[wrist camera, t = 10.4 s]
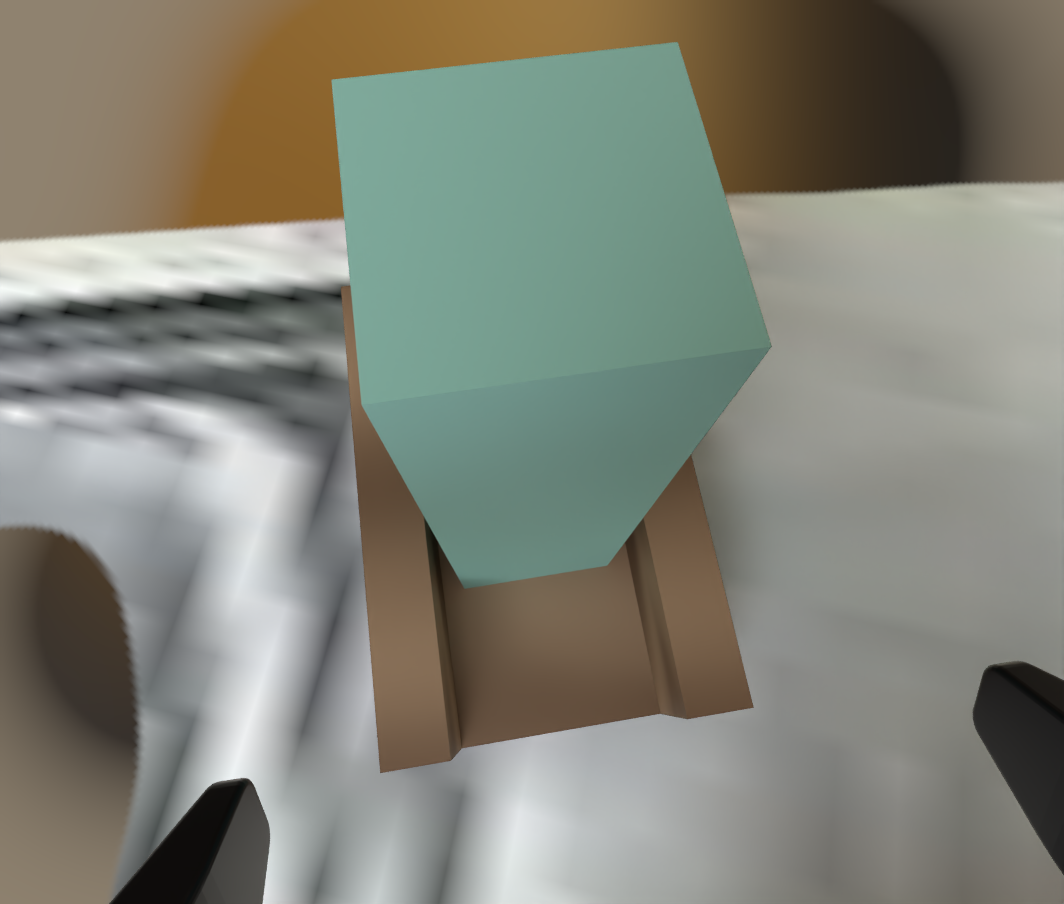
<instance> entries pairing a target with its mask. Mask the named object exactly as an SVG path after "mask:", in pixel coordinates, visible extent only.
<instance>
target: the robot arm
mask: <svg viewBox="0 0 1064 904" xmlns="http://www.w3.org/2000/svg"><path fill="white" fill-rule="evenodd" d="M973 721H974V725H975V728H976V730H977V732H978V734H979V736H980V738H981V740H982V741H983V743H984V745H985V746H986V748H987V750H988V752H989V753H990V755H991V757H992V758H993V760H994V762H995V763H996V765H997V767H998V769H999V770H1000V772H1001V774H1002V775H1003V777H1004V779H1005V780H1006V782H1007V784H1008V786H1009V787H1010V789H1011V791H1012V792H1013V794H1014V796H1015V798H1016V799H1017V801H1018V803H1019V804H1020V806H1021V808H1022V809H1023V811H1024V813H1025V815H1026V816H1027V818H1028V820H1029V821H1030V823H1031V825H1032V826H1033V828H1034V830H1035V832H1036V833H1037V835H1038V837H1039V838H1040V840H1041V841H1042V843H1043V845H1044V846H1045V848H1046V849H1047V851H1048V853H1049V854H1050V856H1051V857H1052V859H1053V860H1054V862H1055V863H1056V865H1057V866H1058V868H1059V869H1060V870H1061V872H1062V873H1063V875H1064V680H1062V679H1060V678H1058V677H1056V676H1054V675H1052V674H1050V673H1047V672H1045V671H1043V670H1041V669H1039V668H1037V667H1035V666H1033V665H1031V664H1028V663H1026V662H1022V661H1013V662H1006V663H999V664H993V665H990V666H988V667H987V668H986V669H985V670H984V673H983V675H982V679H981V682H980V686H979V690H978V693H977V697H976V701H975V704H974V708H973ZM269 845H270V829H269V824H268V820H267V818H266V815H265V812H264V810H263V807H262V805H261V802H260V800H259V797H258V795H257V792H256V789H255V787H254V785H253V783H252V782H251V781H250V780H249V779H247V778H240V779H233V780H227V781H220V782H216V783H214V784H212V785H211V786H210V787H208V788H207V789H206V790H205V792H204V793H203V794H202V795H201V796H200V797H199V799H198V800H197V801H196V802H195V803H194V804H193V806H192V807H191V808H190V809H189V810H188V812H187V813H186V814H185V815H184V816H183V817H182V819H181V820H180V821H179V822H178V823H177V824H176V826H175V827H174V828H173V829H172V830H171V832H170V833H169V834H168V835H167V836H166V837H165V839H164V840H163V841H162V842H161V843H160V845H159V846H158V847H157V848H156V849H155V850H154V852H153V853H152V854H151V855H150V856H149V857H148V859H147V860H146V861H145V862H144V863H143V865H142V866H141V867H140V868H139V869H138V870H137V872H136V873H135V874H134V875H133V876H132V877H131V879H130V880H129V881H128V882H127V883H126V885H125V886H124V887H123V888H122V889H121V890H120V892H119V893H118V894H117V895H116V896H115V898H114V899H113V900H112V901H111V902H110V903H109V904H262V903H263V895H264V886H265V878H266V870H267V862H268V854H269Z"/></svg>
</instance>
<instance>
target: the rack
mask: <svg viewBox="0 0 1064 904" xmlns="http://www.w3.org/2000/svg"><path fill="white" fill-rule="evenodd" d="M341 293H342V305H343V317H344V330H345V342H346V354H347V367H348V379H349V391H350V404H351V416H352V428H353V441H354V453H355V465H356V478H357V490H358V502H359V515H360V527H361V539H362V552H363V564H364V577H365V589H366V601H367V614H368V626H369V638H370V651H371V663H372V675H373V688H374V700H375V712H376V725H377V737H378V749H379V762H380V773H383V772H389V771H395V770H400V769H406V768H412V767H418V766H423V765H429V764H435V763H440V762H446V761H451V760H452V759H453V758H454V757H455V755H456V754H457V753H458V752H459V751H460V750H461V749H462V748H466V747H472V746H477V745H483V744H489V743H495V742H500V741H506V740H512V739H518V738H523V737H529V736H535V735H541V734H546V733H552V732H558V731H563V730H569V729H575V728H581V727H586V726H592V725H598V724H604V723H609V722H615V721H621V720H627V719H632V718H638V717H644V716H649V715H655V714H665V715H670V716H674V717H679V718H684V719H691V718H697V717H702V716H708V715H714V714H720V713H725V712H731V711H737V710H742V709H748V708H754V707H753V703H752V699H751V695H750V691H749V687H748V683H747V679H746V675H745V671H744V667H743V663H742V659H741V655H740V651H739V647H738V643H737V639H736V635H735V631H734V627H733V622H732V618H731V614H730V610H729V606H728V602H727V598H726V594H725V590H724V586H723V582H722V578H721V574H720V570H719V566H718V562H717V558H716V554H715V550H714V546H713V542H712V538H711V534H710V529H709V525H708V521H707V517H706V513H705V509H704V505H703V501H702V497H701V493H700V489H699V485H698V481H697V477H696V473H695V469H694V465H693V461H692V457H691V455H690V456H689V457H688V459H687V460H686V461H685V463H684V464H683V465H682V467H681V468H680V469H679V471H678V472H677V473H676V475H675V476H674V477H673V479H672V480H671V481H670V483H669V484H668V485H667V487H666V488H665V489H664V491H663V492H662V493H661V495H660V496H659V497H658V499H657V500H656V501H655V503H654V504H653V505H652V507H651V508H650V509H649V511H648V512H647V513H646V515H645V516H644V517H643V519H642V520H641V521H640V523H639V524H638V525H637V527H636V528H635V529H634V531H633V532H632V533H631V535H630V536H629V537H628V539H627V540H626V541H625V543H624V544H623V545H622V547H621V548H620V549H619V551H618V552H617V553H616V555H615V556H614V557H613V559H612V560H611V561H610V563H609V564H608V565H607V566H602V567H596V568H589V569H583V570H577V571H571V572H565V573H559V574H553V575H547V576H541V577H534V578H528V579H522V580H516V581H510V582H504V583H498V584H492V585H485V586H479V587H473V588H467V589H464V587H463V585H462V584H461V582H460V580H459V578H458V576H457V575H456V573H455V571H454V569H453V567H452V566H451V564H450V562H449V560H448V559H447V557H446V555H445V553H444V551H443V550H442V548H441V546H440V544H439V542H438V541H437V539H436V537H435V535H434V534H433V532H432V530H431V528H430V526H429V525H428V523H427V521H426V519H425V517H424V516H423V514H422V512H421V510H420V508H419V507H418V505H417V503H416V501H415V500H414V498H413V496H412V494H411V492H410V491H409V489H408V487H407V485H406V483H405V482H404V480H403V478H402V476H401V475H400V473H399V471H398V469H397V467H396V466H395V464H394V462H393V460H392V458H391V457H390V455H389V453H388V451H387V450H386V448H385V446H384V444H383V442H382V441H381V439H380V437H379V435H378V433H377V432H376V430H375V428H374V426H373V425H372V423H371V421H370V419H369V417H368V416H367V414H366V412H365V410H364V408H363V407H362V404H361V393H360V382H359V371H358V361H357V350H356V339H355V328H354V317H353V306H352V296H351V286H344V287H341Z"/></svg>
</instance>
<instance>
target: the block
mask: <svg viewBox="0 0 1064 904" xmlns="http://www.w3.org/2000/svg"><path fill="white" fill-rule="evenodd" d="M332 88H333V89H332V90H333V100H334V110H335V121H336V133H337V143H338V154H339V163H340V164H339V165H340V176H341V187H342V198H343V208H344V220H345V230H346V241H347V252H348V263H349V274H350V285H351V296H352V306H353V317H354V328H355V339H356V350H357V361H358V371H359V382H360V393H361V404H362V407H363V408H364V410H365V412H366V414H367V416H368V417H369V419H370V421H371V423H372V425H373V426H374V428H375V430H376V432H377V433H378V435H379V437H380V439H381V441H382V442H383V444H384V446H385V448H386V450H387V451H388V453H389V455H390V457H391V458H392V460H393V462H394V464H395V466H396V467H397V469H398V471H399V473H400V475H401V476H402V478H403V480H404V482H405V483H406V485H407V487H408V489H409V491H410V492H411V494H412V496H413V498H414V500H415V501H416V503H417V505H418V507H419V508H420V510H421V512H422V514H423V516H424V517H425V519H426V521H427V523H428V525H429V526H430V528H431V530H432V532H433V534H434V535H435V537H436V539H437V541H438V542H439V544H440V546H441V548H442V550H443V551H444V553H445V555H446V557H447V559H448V560H449V562H450V564H451V566H452V567H453V569H454V571H455V573H456V575H457V576H458V578H459V580H460V582H461V584H462V585H463V587H464V589H467V588H473V587H479V586H485V585H492V584H498V583H504V582H510V581H516V580H522V579H528V578H534V577H541V576H547V575H553V574H559V573H565V572H571V571H577V570H583V569H589V568H596V567H602V566H607V565H608V564H609V563H610V561H611V560H612V559H613V557H614V556H615V555H616V553H617V552H618V551H619V549H620V548H621V547H622V545H623V544H624V543H625V541H626V540H627V539H628V537H629V536H630V535H631V533H632V532H633V531H634V529H635V528H636V527H637V525H638V524H639V523H640V521H641V520H642V519H643V517H644V516H645V515H646V513H647V512H648V511H649V509H650V508H651V507H652V505H653V504H654V503H655V501H656V500H657V499H658V497H659V496H660V495H661V493H662V492H663V491H664V489H665V488H666V487H667V485H668V484H669V483H670V481H671V480H672V479H673V477H674V476H675V475H676V473H677V472H678V471H679V469H680V468H681V467H682V465H683V464H684V463H685V461H686V460H687V459H688V457H689V456H690V455H691V453H692V452H693V451H694V449H695V448H696V447H697V445H698V444H699V443H700V441H701V440H702V439H703V437H704V436H705V435H706V433H707V432H708V431H709V429H710V428H711V427H712V425H713V424H714V423H715V421H716V420H717V419H718V417H719V416H720V415H721V413H722V412H723V411H724V409H725V408H726V407H727V405H728V404H729V403H730V401H731V400H732V399H733V397H734V396H735V395H736V393H737V392H738V391H739V389H740V388H741V387H742V385H743V384H744V383H745V381H746V380H747V379H748V377H749V376H750V375H751V373H752V372H753V371H754V369H755V368H756V367H757V365H758V364H759V363H760V361H761V360H762V359H763V357H764V356H765V355H766V353H767V352H768V351H769V349H770V348H771V347H772V346H771V343H770V339H769V336H768V333H767V330H766V327H765V323H764V320H763V317H762V314H761V310H760V307H759V304H758V301H757V297H756V294H755V291H754V288H753V284H752V281H751V278H750V275H749V272H748V268H747V265H746V262H745V259H744V255H743V252H742V249H741V246H740V242H739V239H738V236H737V233H736V229H735V226H734V223H733V220H732V217H731V213H730V210H729V207H728V204H727V200H726V197H725V194H724V191H723V187H722V185H721V181H720V178H719V174H718V171H717V168H716V165H715V162H714V158H713V155H712V152H711V149H710V146H709V143H708V139H707V136H706V132H705V129H704V126H703V123H702V120H701V116H700V113H699V110H698V107H697V104H696V100H695V97H694V94H693V90H692V87H691V84H690V81H689V77H688V74H687V71H686V68H685V65H684V61H683V58H682V55H681V52H680V49H679V45H678V42H675V43H665V44H656V45H647V46H638V47H629V48H620V49H610V50H601V51H592V52H583V53H573V54H564V55H555V56H546V57H537V58H527V59H519V60H510V61H500V62H491V63H481V64H472V65H463V66H454V67H445V68H437V69H426V70H418V71H408V72H399V73H391V74H381V75H371V76H362V77H353V78H344V79H334V80H332Z"/></svg>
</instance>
